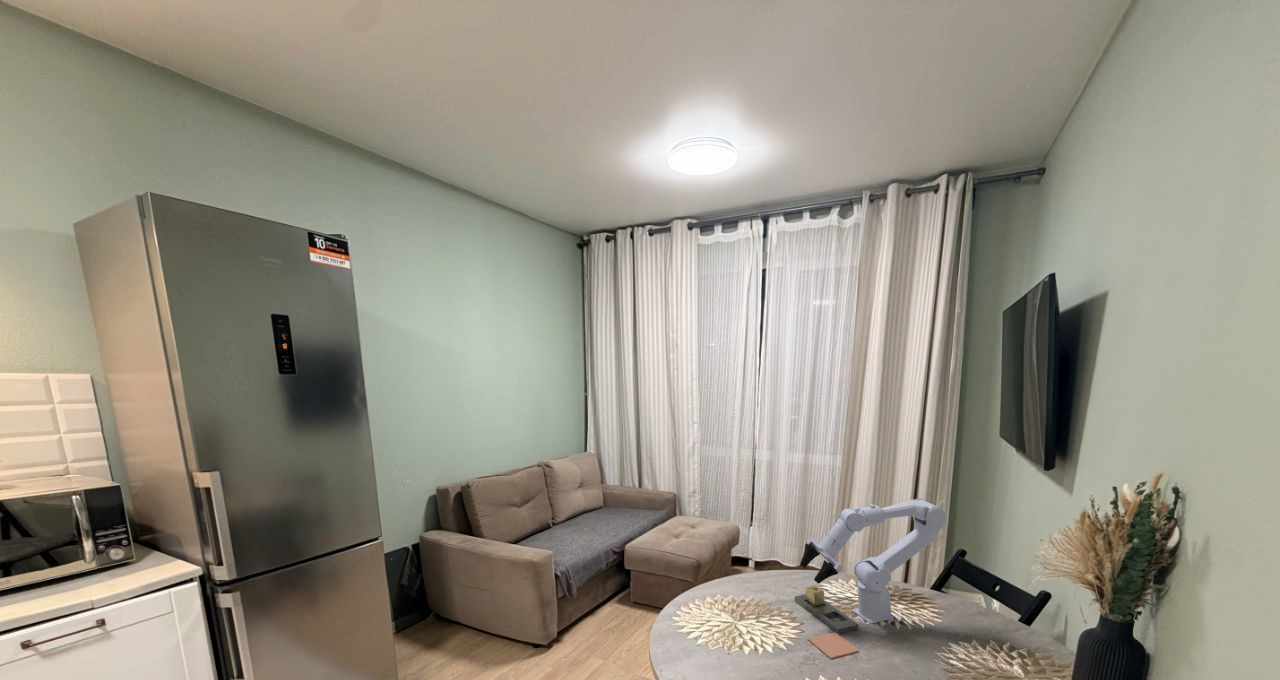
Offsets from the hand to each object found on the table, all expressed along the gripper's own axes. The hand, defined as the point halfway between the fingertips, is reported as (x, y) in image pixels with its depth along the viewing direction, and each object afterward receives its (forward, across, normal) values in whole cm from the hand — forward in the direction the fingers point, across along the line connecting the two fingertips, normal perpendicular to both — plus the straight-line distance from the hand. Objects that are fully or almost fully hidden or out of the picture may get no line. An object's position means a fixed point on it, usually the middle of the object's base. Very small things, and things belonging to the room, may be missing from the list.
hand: (808, 573), depth 145 cm
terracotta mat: (+9, +18, +2) cm, 21 cm away
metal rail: (+7, +4, +11) cm, 14 cm away
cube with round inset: (+8, 0, +12) cm, 14 cm away
